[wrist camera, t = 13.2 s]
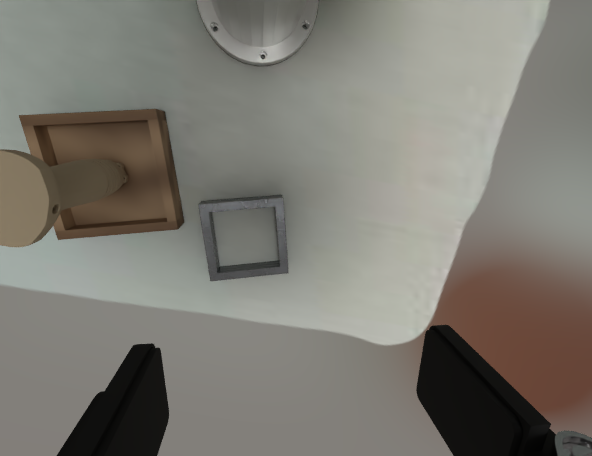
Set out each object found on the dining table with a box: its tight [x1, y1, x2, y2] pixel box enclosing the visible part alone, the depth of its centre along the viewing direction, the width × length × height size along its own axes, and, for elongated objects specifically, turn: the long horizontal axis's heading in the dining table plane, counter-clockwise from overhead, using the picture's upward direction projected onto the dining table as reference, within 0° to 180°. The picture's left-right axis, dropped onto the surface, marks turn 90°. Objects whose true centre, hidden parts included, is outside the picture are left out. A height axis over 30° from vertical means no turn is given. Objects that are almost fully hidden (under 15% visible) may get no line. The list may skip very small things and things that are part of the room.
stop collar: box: [199, 195, 288, 281], centre depth 37 cm, size 10×10×2 cm
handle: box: [0, 150, 129, 247], centre depth 26 cm, size 5×6×15 cm
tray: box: [19, 109, 184, 240], centre depth 33 cm, size 13×13×3 cm
